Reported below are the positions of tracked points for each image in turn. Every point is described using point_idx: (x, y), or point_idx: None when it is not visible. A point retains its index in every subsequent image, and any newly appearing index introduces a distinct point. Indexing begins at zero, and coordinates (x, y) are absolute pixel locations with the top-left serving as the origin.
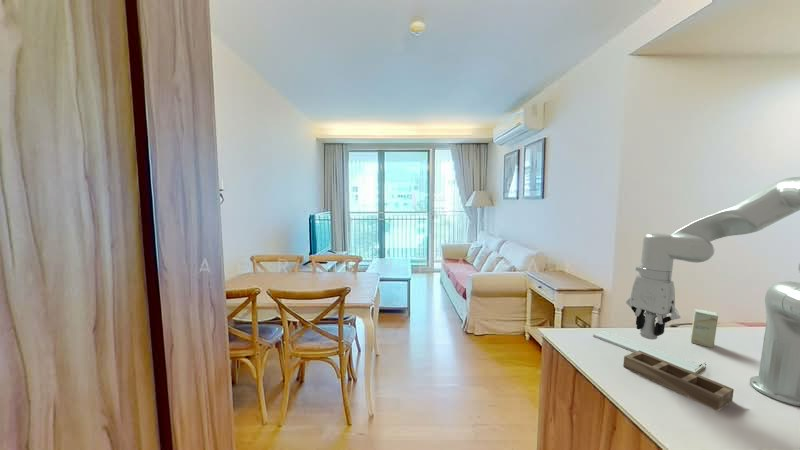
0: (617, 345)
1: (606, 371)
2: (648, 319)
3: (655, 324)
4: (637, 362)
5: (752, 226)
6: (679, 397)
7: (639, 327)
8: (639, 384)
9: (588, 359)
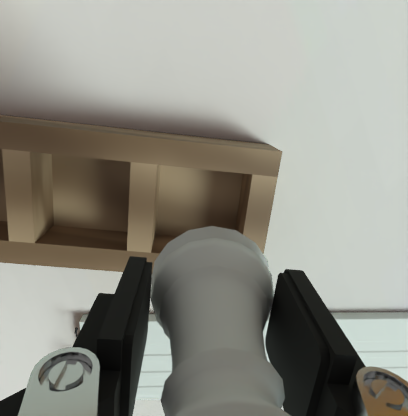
0: (350, 313)
1: (300, 18)
2: (226, 366)
3: (133, 327)
4: (216, 145)
5: None
6: (27, 79)
7: (284, 282)
8: (161, 35)
9: (400, 63)
